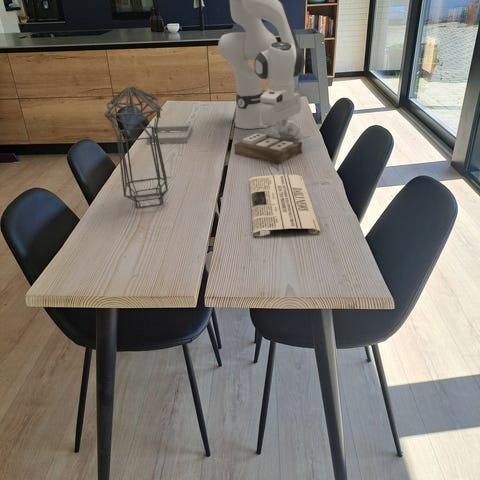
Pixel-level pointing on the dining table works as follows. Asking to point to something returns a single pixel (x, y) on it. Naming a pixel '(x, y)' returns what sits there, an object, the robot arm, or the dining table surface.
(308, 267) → the dining table surface
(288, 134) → the grey rock
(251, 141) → the button three
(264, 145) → the button one
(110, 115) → the geometric lantern
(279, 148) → the button two
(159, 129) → the frame
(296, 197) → the newspaper
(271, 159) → the button panel
